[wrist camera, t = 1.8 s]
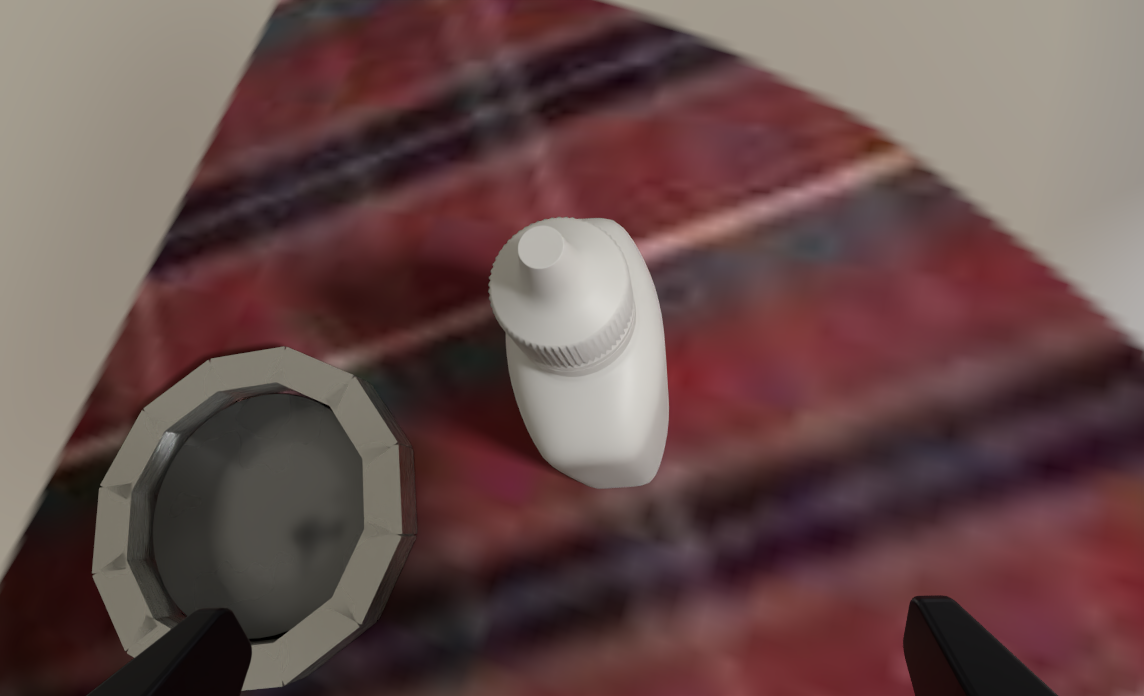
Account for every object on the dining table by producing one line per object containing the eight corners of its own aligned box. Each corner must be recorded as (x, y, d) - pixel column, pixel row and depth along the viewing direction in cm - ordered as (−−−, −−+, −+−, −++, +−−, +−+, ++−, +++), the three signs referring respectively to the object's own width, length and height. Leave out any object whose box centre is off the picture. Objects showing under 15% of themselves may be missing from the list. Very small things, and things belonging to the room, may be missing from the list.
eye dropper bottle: (516, 451, 21) (327, 359, 10) (590, 299, 22) (497, 52, 11) (641, 511, 20) (593, 487, 9) (712, 348, 21) (755, 132, 10)
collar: (423, 665, 20) (408, 673, 19) (113, 697, 21) (80, 707, 20) (407, 338, 23) (393, 328, 22) (135, 383, 24) (108, 375, 23)
